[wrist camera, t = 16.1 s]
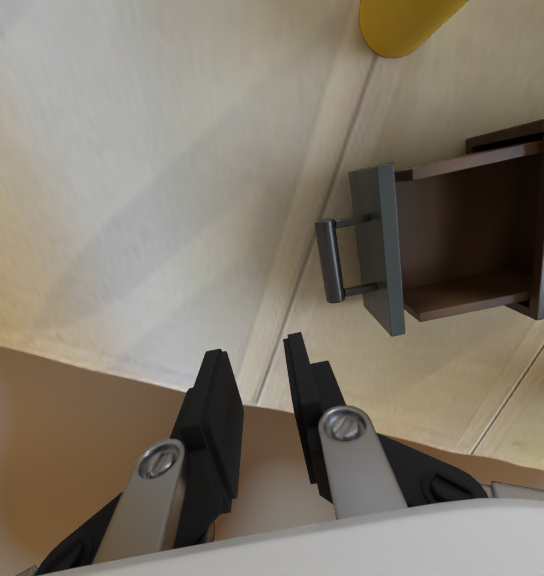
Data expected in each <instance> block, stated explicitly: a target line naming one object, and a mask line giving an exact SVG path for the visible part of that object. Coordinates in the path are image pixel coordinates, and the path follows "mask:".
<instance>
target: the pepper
mask: <svg viewBox="0 0 544 576" xmlns="http://www.w3.org/2000/svg"><path fill="white" fill-rule="evenodd" d="M468 1H469V0H361V4H360V12H359V20H360V27H361V31H362V34H363V37H364V39H365V41H366V43H367V44H368V45H369V47H370V48H371V49H372V50H373V51H374V52H376V53H377V54H379V55H381V56H384V57H388V58H398V57H402V56H405V55H408V54H410V53H411V52H413V51H414V50H415V49H417V48H418V47H419V46H420V45H421V44H422V43H423V42H424V41H425V40H426V39H428V38H429V37H430V36H431V35H432V34H433V33H434V32H435V31H436V30H437V29H438V28H439V27H441V26H442V25H443V24H444V23H445V22H446V21H447V20H448V19H449V18H450V17H451V16H452V15H454V14H455V13H456V12H457V11H458V10H459V9H460V8H461V7H462V6H463V5H464V4H465V3H467V2H468Z"/></svg>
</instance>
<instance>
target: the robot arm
mask: <svg viewBox="0 0 544 576" xmlns="http://www.w3.org/2000/svg"><path fill="white" fill-rule="evenodd" d="M283 342H284V349H285V356H286V363H287V369H288V376H289V383H290V390H291V396H292V403H293V408H294V413H295V418H296V422H297V426H298V431H299V435H300V439H301V443H302V448H303V453H304V457H305V461H306V465H307V470H308V474H309V479H310V483H311V484H316V483H317V485H318V489H319V494H320V496H322V497H323V498H325V499H326V500H328V501H329V502H331V503H332V504H333V505H334V510H335V516H336V520H333V521H328V522H321V523H316V524H310V525H305V526H299V527H294V528H287V529H282V530H277V531H271V532H265V533H260V534H254V535H249V536H243V537H238V538H233V539H227V540H221V541H216V542H214V535H215V523H214V520H215V519H216V518H217V517H218V516H219V515H220V514H223V513H229V512H231V503H232V499H235V498H237V494H238V481H239V470H240V469H239V468H240V457H241V444H242V431H243V419H244V410H243V405H242V401H241V398H240V394H239V391H238V388H237V384H236V381H235V378H234V374H233V371H232V367H231V364H230V361H229V357H228V354H227V352H226V351H224V352H222V350H221V349H216V350H211V351H206V353H205V356H204V359H203V362H202V364H201V367H200V370H199V373H198V376H197V379H196V382H195V385H194V387H193V388H190V389H188V391H187V393H186V396H185V399H184V401H183V404H182V407H181V409H180V412H179V415H178V418H177V421H176V423H175V426H174V428H173V431H172V434H171V436H170V439H166V440H163V441H160V442H158V443H156V444H154V445H152V446H151V447H149V448H148V449H147V450H146V451H144V452H143V454H142V455H141V456H140V457H139V458H138V460H137V461H136V463H135V465H134V467H133V469H132V471H131V474H130V476H129V479H128V481H127V483H126V485H125V488H124V490H123V492H122V493H120V494H119V495H118V496H117V497H115V498H114V499H113V500H112V501H111V502H109V503H108V504H107V505H106V506H105V507H103V508H102V509H101V510H100V511H99V512H97V513H96V514H95V515H94V516H92V517H91V518H90V519H89V520H88V521H86V522H85V523H84V524H83V525H81V526H80V527H79V528H78V529H77V530H75V531H74V532H73V533H72V534H70V535H69V536H68V537H67V538H66V539H64V540H63V541H62V542H61V543H60V544H59V545H58V546H57V547H55V548H54V549H53V550H52V551H51V552H50V554H49V555H48V556H47V557H46V559H45V560H44V561H43V562H42V563H41V565H40V567H39V568H37V566H36V565H33V566H32V567H30V568H28V569H26V570H25V571H23V572H21V573H19V574H18V575H16V576H544V490H540V489H534V488H529V487H523V486H518V485H512V484H507V483H502V482H496V481H491V486H490V485H484V484H480V483H479V482H477V481H476V480H475V479H474V478H473V477H472V476H471V475H469V474H467V473H466V472H464V471H462V470H460V469H458V468H456V467H454V466H452V465H449V464H447V463H445V462H442V461H440V460H438V459H436V458H433V457H431V456H429V455H427V454H424V453H421V452H419V451H417V450H415V449H413V448H410V447H408V446H406V445H404V444H401V443H399V442H397V441H395V440H392V439H390V438H387V437H385V436H383V435H381V434H379V433H376V431H375V429H374V426H373V424H372V422H371V420H370V418H369V417H368V415H367V414H366V413H365V412H364V411H362V410H361V409H359V408H356V407H354V406H348V405H346V404H345V401H344V399H343V396H342V393H341V391H340V388H339V386H338V383H337V381H336V378H335V376H334V373H333V371H332V368H331V366H330V363H329V361H323V362H318V363H313V364H310V362H309V359H308V355H307V351H306V348H305V344H304V341H303V337H302V334H301V332H299V333H294V334H289V335H288V339H283Z"/></svg>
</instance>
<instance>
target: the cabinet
mask: <svg viewBox="0 0 544 576" xmlns="http://www.w3.org/2000/svg"><path fill="white" fill-rule="evenodd" d="M542 138H543V146H542V159H541V171H540V183H539V195H538V207H537V219H536V232H535V244H534V256H533V268H532V280H531V292H530V300H526V301H521V302H516V303H511V304H506V305H505V306H507V307H509V308H511V309H513V310H515V311H518V312H520V313H522V314H524V315H526V316H529V317H531V318H533V319H535V320H542V319H544V119H542V120H538V121H534V122H530V123H526V124H522V125H519V126H515V127H511V128H507V129H503V130H499V131H495V132H491V133H488V134H484V135H480V136H476V137H472V138H468V139H466V155H467V154H471V153H476V152H480V151H485V150H489V149H494V148H498V147H503V146H507V145H512V144H516V143H521V142H526V141H531V140H536V139H542Z"/></svg>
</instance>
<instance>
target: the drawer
mask: <svg viewBox="0 0 544 576" xmlns="http://www.w3.org/2000/svg"><path fill="white" fill-rule="evenodd" d="M542 146H543V138H542V139H536V140H531V141H526V142H521V143H516V144H512V145H507V146H503V147H498V148H494V149H489V150H485V151H480V152H476V153H471V154H467V155H462V156H457V157H453V158H448V159H444V160H439V161H435V162H430V163H426V164H421V165H417V166H412V167H408V168H403V169H399V170H394V163H393V162H392V163H387V164H383V165H378V166H374V167H369V168H365V169H360V170H356V171H351V172H349V180H350V189H351V197H352V206H353V215H354V216H352V217H348V218H343V219H338V220H334V219H333V218H329V219H323V220H319V221H316V222H315V223H314V224H315V231H316V237H317V243H318V249H319V256H320V262H321V268H322V275H323V281H324V287H325V293H326V300H327V302H329V303H340V302H342V301H344V300H345V297H347V296H352V295H357V294H361V293H363V301H364V307H365V308H366V309H367V310H368V311H369V312H370V313H371V314H372V315H373V317H374V318H375V319H376V320H377V321H378V322H379V323H380V324H381V325H382V327H383V328H384V329H385V330H386V331H387V332H388V333H389V334H390V335H391V336H397V335H402V334H405V322H404V309H405V310H406V311H407V312H408V313H409V314H411V315H412V316H413V317H414V318H416V319H417V320H418V321H419V322H423V321H428V320H433V319H438V318H442V317H447V316H452V315H457V314H462V313H467V312H472V311H477V310H482V309H487V308H492V307H497V306H502V305H506V304H511V303H516V302H521V301H526V300H530V292H531V280H532V268H533V256H534V244H535V232H536V219H537V207H538V195H539V183H540V171H541V159H542ZM350 225H355V232H356V241H357V249H358V258H359V266H360V275H361V284H362V285H359V286H354V287H349V288H345V289H344V287H343V279H342V272H341V265H340V257H339V250H338V243H337V236H336V228H341V227H345V226H350Z"/></svg>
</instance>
